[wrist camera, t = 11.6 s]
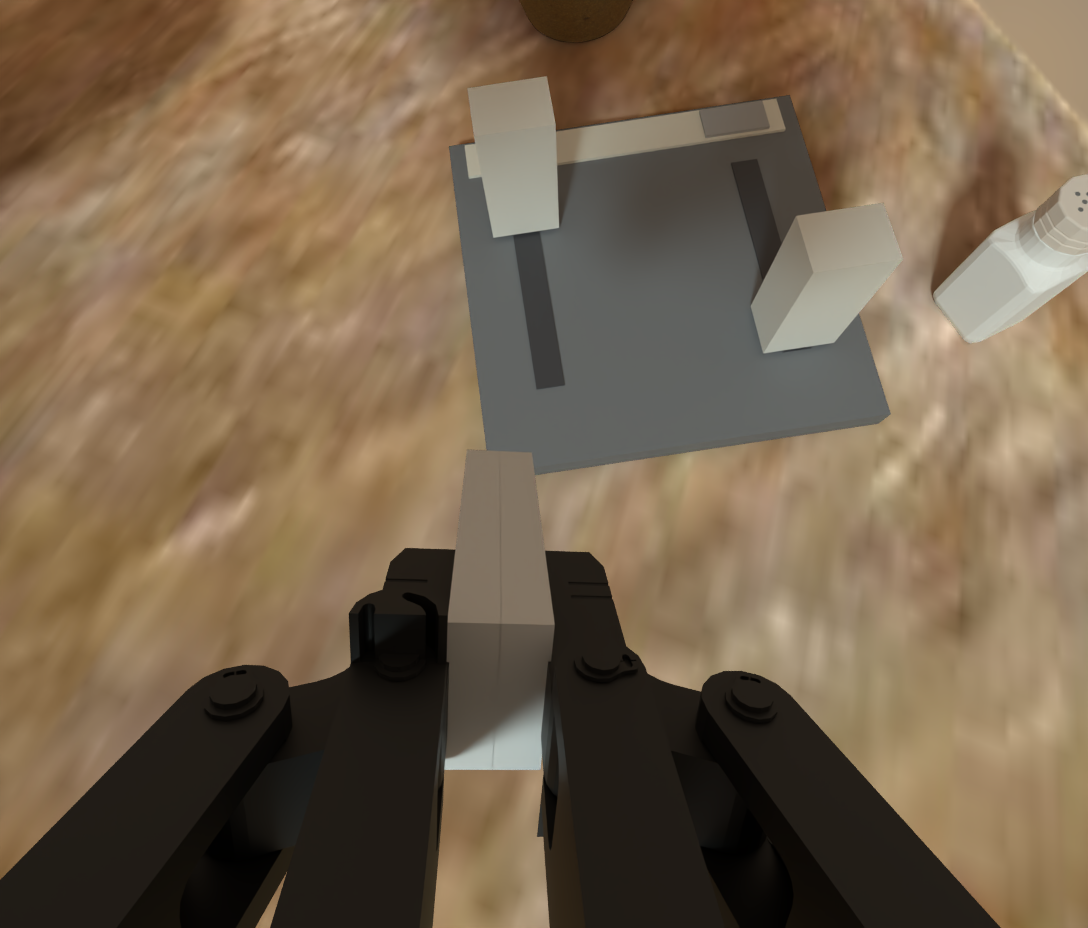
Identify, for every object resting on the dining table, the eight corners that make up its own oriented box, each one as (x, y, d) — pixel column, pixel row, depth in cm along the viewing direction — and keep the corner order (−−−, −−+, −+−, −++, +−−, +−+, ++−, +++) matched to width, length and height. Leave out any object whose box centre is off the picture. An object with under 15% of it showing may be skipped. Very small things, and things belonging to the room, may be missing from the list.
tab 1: (559, 227, 39) (555, 124, 32) (493, 237, 39) (474, 136, 32) (551, 186, 40) (546, 76, 33) (487, 196, 40) (467, 88, 33)
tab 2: (834, 342, 37) (903, 259, 29) (763, 353, 37) (813, 272, 29) (819, 295, 37) (883, 202, 30) (750, 306, 37) (796, 215, 30)
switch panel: (878, 423, 37) (894, 411, 35) (493, 481, 37) (488, 472, 35) (782, 113, 43) (791, 89, 41) (453, 163, 43) (447, 141, 42)
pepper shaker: (965, 350, 38) (1088, 254, 29) (924, 296, 39) (1030, 186, 30) (1023, 322, 38) (1162, 217, 29) (980, 269, 40) (1102, 152, 30)
